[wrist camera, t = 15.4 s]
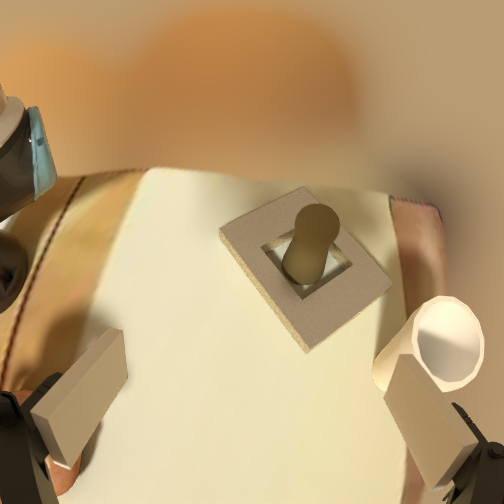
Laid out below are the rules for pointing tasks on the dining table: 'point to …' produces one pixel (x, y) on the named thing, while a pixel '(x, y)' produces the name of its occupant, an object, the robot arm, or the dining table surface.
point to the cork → (310, 244)
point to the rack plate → (277, 287)
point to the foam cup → (436, 344)
